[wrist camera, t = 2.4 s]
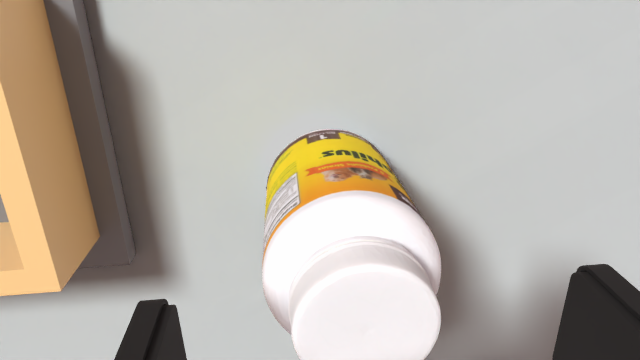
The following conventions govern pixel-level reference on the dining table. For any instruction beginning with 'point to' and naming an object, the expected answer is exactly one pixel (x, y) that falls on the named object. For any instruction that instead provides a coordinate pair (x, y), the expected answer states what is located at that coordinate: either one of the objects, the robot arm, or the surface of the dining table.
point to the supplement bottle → (348, 253)
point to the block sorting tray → (55, 152)
